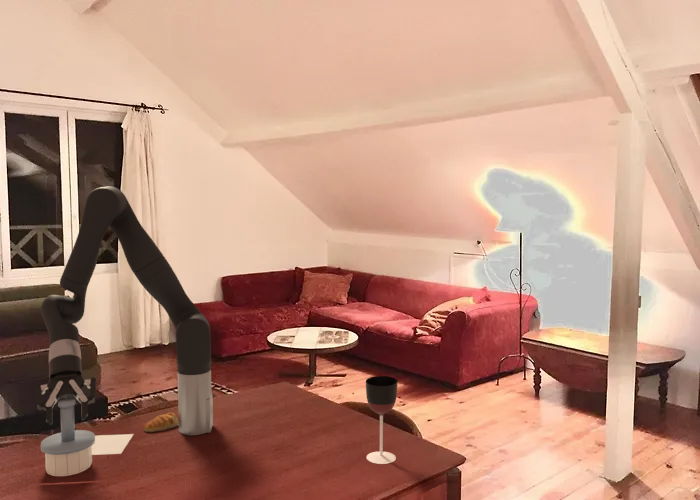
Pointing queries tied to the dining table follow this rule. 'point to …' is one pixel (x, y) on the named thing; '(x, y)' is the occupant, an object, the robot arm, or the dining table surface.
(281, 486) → the dining table surface
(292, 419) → the dining table surface
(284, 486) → the dining table surface
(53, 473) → the cup
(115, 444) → the mat
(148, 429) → the pastry
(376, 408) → the wineglass
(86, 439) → the lid
